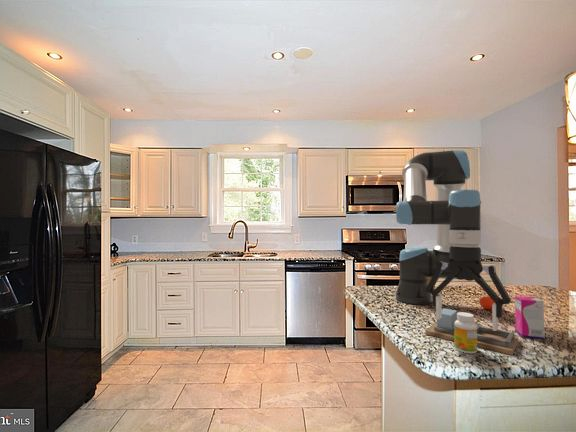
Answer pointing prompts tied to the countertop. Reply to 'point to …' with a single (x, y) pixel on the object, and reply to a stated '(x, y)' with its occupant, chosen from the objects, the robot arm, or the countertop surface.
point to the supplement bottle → (465, 333)
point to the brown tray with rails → (482, 338)
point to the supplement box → (529, 317)
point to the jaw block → (447, 319)
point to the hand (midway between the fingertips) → (465, 323)
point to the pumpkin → (486, 302)
